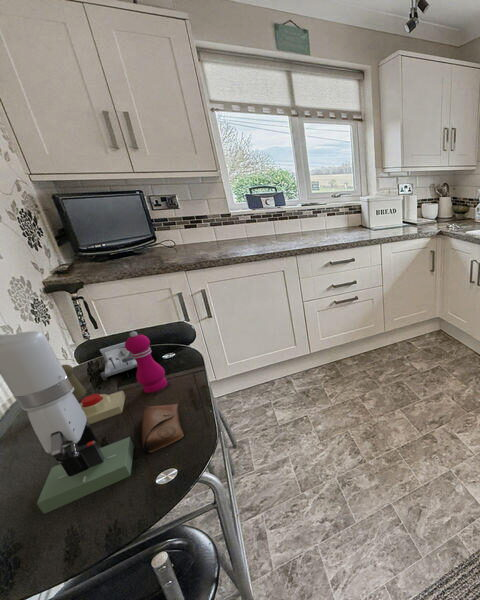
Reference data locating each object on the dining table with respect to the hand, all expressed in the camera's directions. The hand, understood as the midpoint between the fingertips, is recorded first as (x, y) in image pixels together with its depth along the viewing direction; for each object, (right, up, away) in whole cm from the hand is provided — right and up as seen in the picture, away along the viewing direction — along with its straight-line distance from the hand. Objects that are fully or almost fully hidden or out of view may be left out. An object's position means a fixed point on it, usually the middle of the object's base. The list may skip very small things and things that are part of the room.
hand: (84, 457), depth 71 cm
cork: (-35, +3, +33) cm, 49 cm away
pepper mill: (-10, +6, +34) cm, 36 cm away
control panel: (0, -5, +2) cm, 6 cm away
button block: (-19, +1, +24) cm, 31 cm away
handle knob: (0, -2, +1) cm, 3 cm away
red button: (-20, +5, +23) cm, 30 cm away
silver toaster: (-32, +9, +48) cm, 58 cm away
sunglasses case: (+6, 0, +15) cm, 17 cm away
